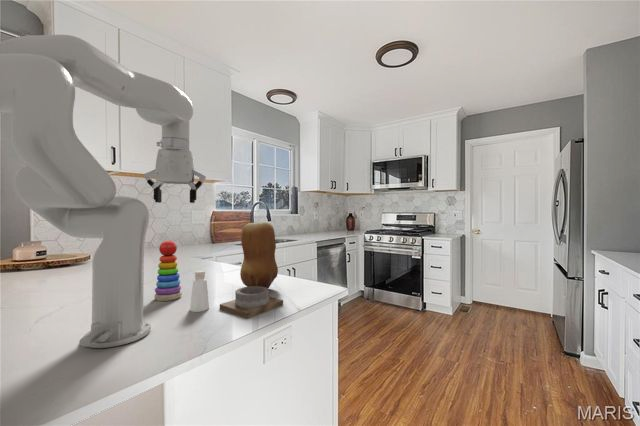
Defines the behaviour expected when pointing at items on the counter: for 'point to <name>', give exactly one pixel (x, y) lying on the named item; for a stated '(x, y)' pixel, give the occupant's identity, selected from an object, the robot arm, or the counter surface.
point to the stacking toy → (168, 274)
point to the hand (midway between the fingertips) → (175, 202)
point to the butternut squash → (258, 255)
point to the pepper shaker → (199, 293)
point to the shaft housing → (251, 302)
